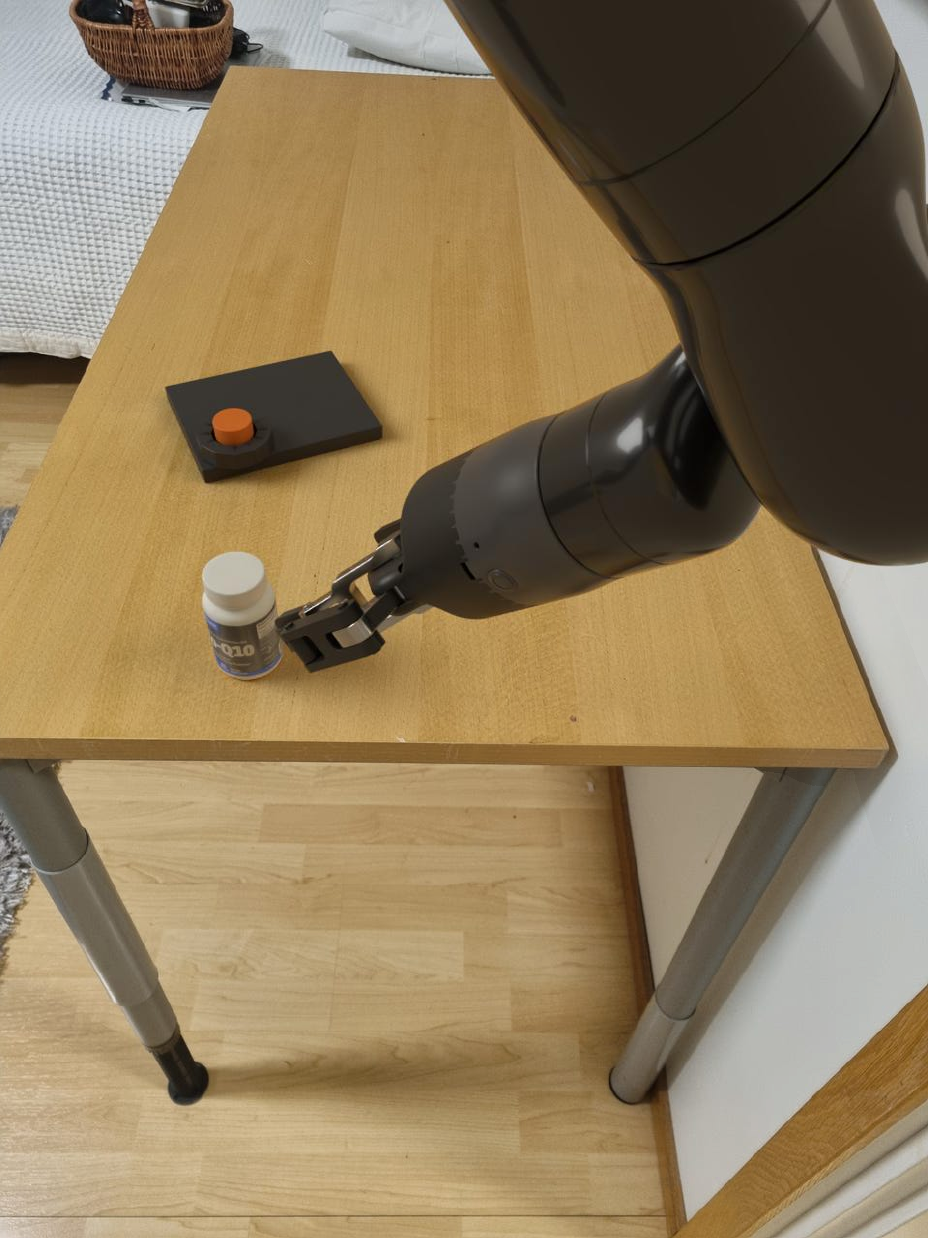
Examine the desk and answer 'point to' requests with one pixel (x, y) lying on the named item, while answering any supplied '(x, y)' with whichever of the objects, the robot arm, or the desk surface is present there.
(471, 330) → the desk surface
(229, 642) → the pill bottle
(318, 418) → the black flat block
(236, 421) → the button
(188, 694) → the desk surface
